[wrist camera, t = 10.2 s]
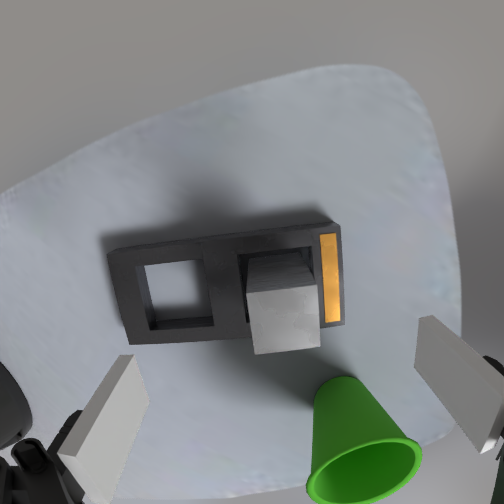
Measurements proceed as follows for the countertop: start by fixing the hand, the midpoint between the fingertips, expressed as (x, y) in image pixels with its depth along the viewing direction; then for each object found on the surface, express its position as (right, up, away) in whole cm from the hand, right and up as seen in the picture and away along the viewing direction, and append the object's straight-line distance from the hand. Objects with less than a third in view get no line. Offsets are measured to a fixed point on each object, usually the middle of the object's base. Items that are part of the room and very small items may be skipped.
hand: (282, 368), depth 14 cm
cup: (+7, -9, +16) cm, 19 cm away
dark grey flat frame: (-3, +2, +13) cm, 13 cm away
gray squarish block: (+1, +3, +13) cm, 13 cm away
